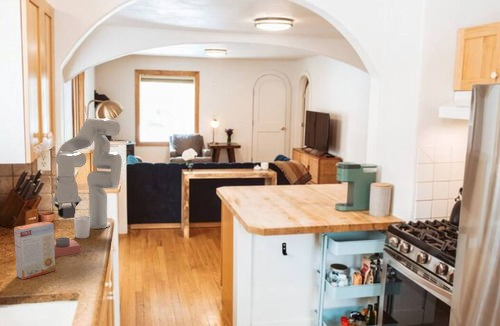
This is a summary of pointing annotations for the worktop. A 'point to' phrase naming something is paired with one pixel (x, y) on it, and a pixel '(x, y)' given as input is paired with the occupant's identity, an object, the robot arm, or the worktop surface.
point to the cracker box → (34, 249)
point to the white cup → (82, 226)
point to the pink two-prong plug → (66, 247)
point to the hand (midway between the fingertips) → (66, 215)
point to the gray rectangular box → (68, 211)
